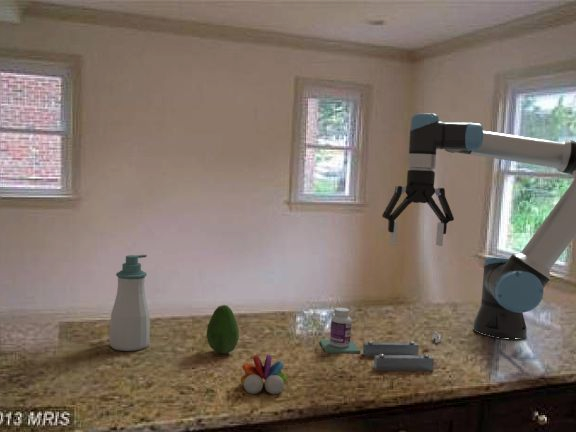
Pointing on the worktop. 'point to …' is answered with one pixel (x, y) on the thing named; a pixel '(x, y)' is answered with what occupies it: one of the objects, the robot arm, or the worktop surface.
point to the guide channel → (397, 356)
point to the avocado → (223, 330)
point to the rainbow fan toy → (263, 376)
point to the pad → (331, 349)
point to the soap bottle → (130, 309)
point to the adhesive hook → (436, 337)
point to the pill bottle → (340, 328)
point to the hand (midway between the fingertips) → (416, 244)
